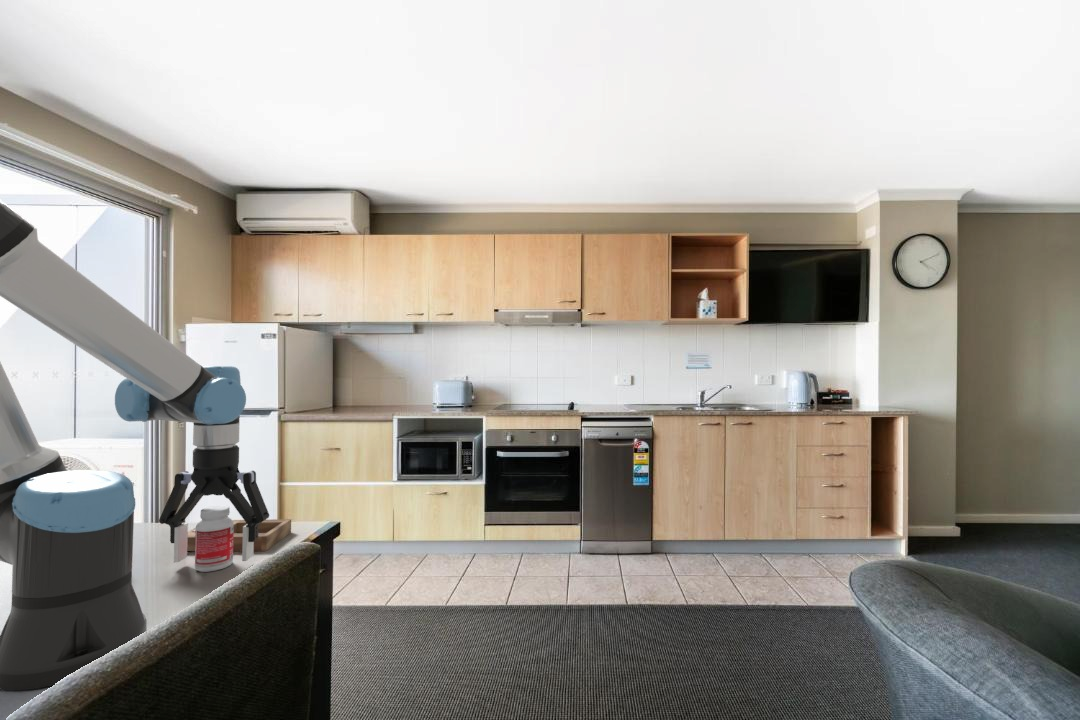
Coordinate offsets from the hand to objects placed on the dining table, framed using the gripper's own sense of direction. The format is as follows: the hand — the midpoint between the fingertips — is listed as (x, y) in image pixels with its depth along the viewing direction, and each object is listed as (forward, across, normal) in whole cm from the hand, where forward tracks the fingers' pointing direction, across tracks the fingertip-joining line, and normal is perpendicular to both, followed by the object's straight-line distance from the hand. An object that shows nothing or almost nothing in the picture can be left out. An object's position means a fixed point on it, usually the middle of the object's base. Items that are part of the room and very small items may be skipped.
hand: (214, 559), depth 96 cm
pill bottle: (+2, 0, 0) cm, 2 cm away
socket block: (+1, +3, -14) cm, 14 cm away
